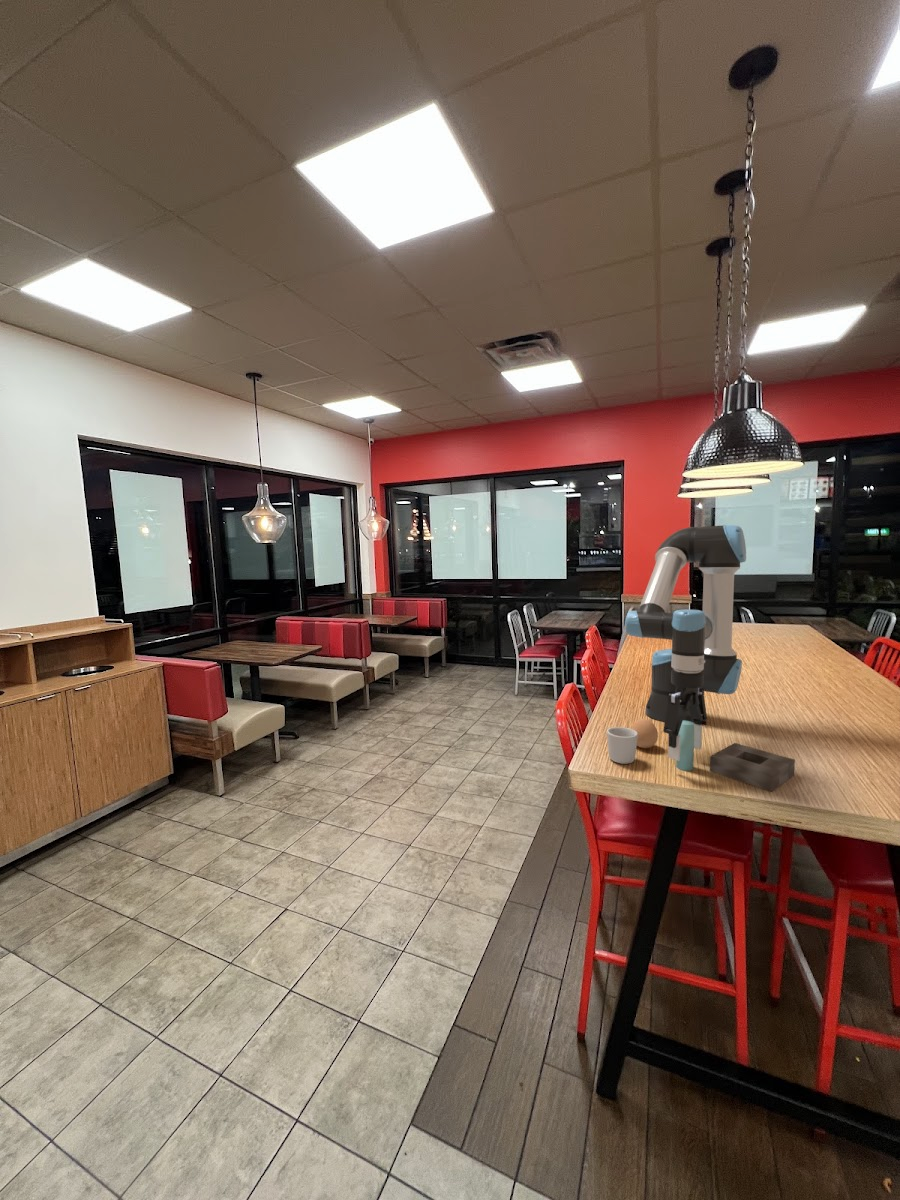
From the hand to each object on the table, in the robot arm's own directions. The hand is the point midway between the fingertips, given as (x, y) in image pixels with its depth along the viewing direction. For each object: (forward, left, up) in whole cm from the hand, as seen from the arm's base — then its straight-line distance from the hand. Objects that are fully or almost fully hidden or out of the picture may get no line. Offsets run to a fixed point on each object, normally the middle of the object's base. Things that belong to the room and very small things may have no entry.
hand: (685, 753), depth 124 cm
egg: (-14, +4, -4) cm, 15 cm away
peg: (0, 0, -4) cm, 4 cm away
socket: (+12, +10, -4) cm, 16 cm away
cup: (-14, -8, -4) cm, 17 cm away
